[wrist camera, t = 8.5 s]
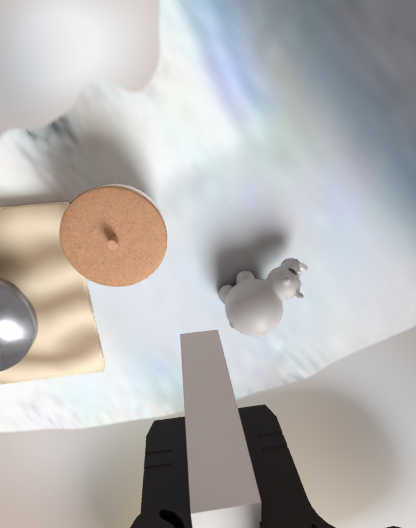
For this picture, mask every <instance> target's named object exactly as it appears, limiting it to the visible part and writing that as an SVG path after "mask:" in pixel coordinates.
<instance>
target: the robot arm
mask: <svg viewBox="0 0 416 528" xmlns="http://www.w3.org/2000/svg"><path fill="white" fill-rule="evenodd" d="M180 338H181V355H182V373H183V390H184V407H185V417H178V418H171V419H163V420H156V421H154V422H153V424H152V426H151V428H150V430H149V432H148V434H147V436H146V450H145V462H144V477H143V489H142V503H141V514H140V515H139V516H138V517H137V518H136V519H135V521H134V522H133V524H132V526H131V527H130V528H335V527H333V526H331V525H330V524H328V523H327V522H325V521H324V520H323V519H322V518H321V517H320V516H318V514H317V513H316V512H315V510H314V509H313V508H312V506H311V504H310V502H309V501H308V498H307V496H306V493H305V491H304V488H303V485H302V483H301V480H300V477H299V475H298V472H297V469H296V467H295V464H294V462H293V459H292V456H291V454H290V451H289V449H288V447H287V443H286V441H285V438H284V436H283V435H282V430H281V428H280V425H279V422H278V420H277V417H276V416H275V415H274V414H273V413H272V411H271V410H270V409H268V407H267V406H266V405H258V406H251V407H243V408H237V404H236V400H235V396H234V392H233V388H232V384H231V380H230V376H229V372H228V368H227V364H226V360H225V356H224V352H223V348H222V344H221V340H220V336H219V332H218V330H212V331H204V332H195V333H187V334H180ZM387 528H400V527H395V526H392V527H387Z"/></svg>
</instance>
